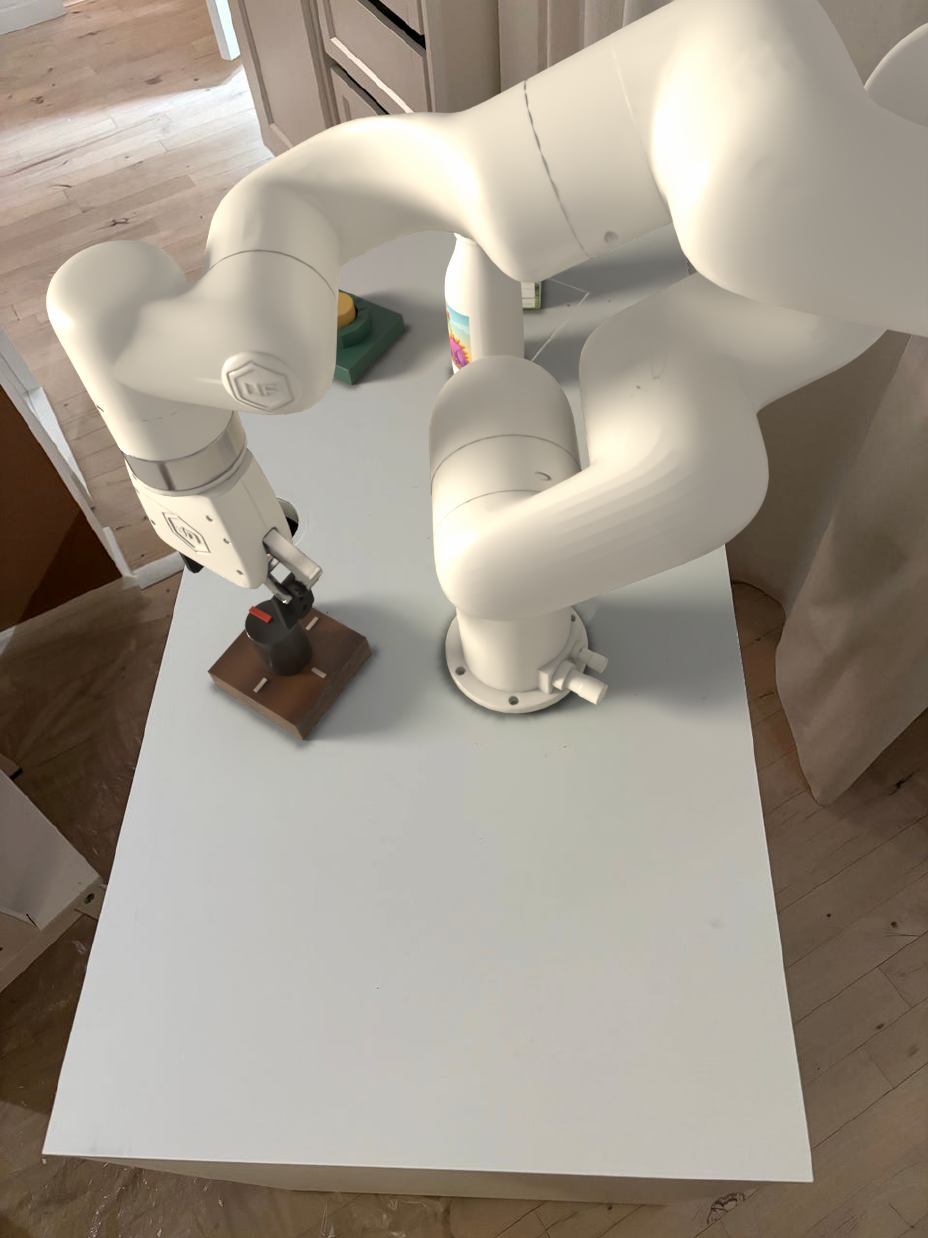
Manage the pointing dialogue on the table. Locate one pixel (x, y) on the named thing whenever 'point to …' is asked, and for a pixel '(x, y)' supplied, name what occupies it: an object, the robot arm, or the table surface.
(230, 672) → the dial base
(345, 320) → the yellow button cap
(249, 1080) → the table surface
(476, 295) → the milk bottle
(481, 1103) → the table surface
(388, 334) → the button base
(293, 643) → the dial
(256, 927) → the table surface
